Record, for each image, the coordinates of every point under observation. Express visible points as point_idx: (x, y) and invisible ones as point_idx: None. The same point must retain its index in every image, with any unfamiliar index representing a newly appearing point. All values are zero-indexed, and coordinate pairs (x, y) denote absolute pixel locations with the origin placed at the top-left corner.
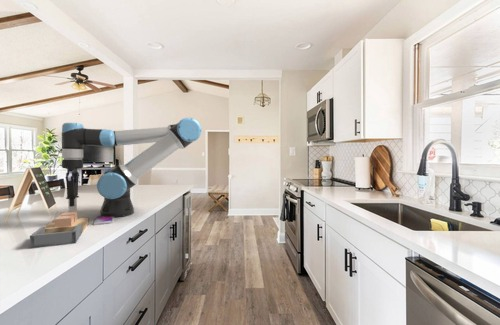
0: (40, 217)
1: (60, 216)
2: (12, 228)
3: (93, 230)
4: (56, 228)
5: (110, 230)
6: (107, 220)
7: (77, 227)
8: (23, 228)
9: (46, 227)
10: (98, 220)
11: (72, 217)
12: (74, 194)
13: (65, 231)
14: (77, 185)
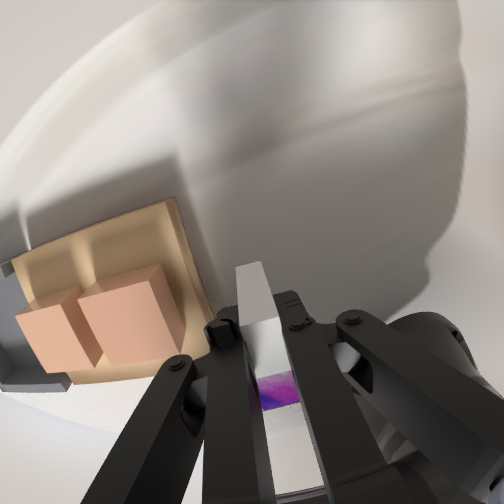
0: (407, 33)
1: (58, 316)
2: (187, 9)
3: (124, 389)
4: None
5: None
6: (264, 398)
7: (26, 389)
8: (175, 55)
9: (29, 263)
10: None
11: (66, 369)
12: (198, 423)
13: None
14: (408, 438)
